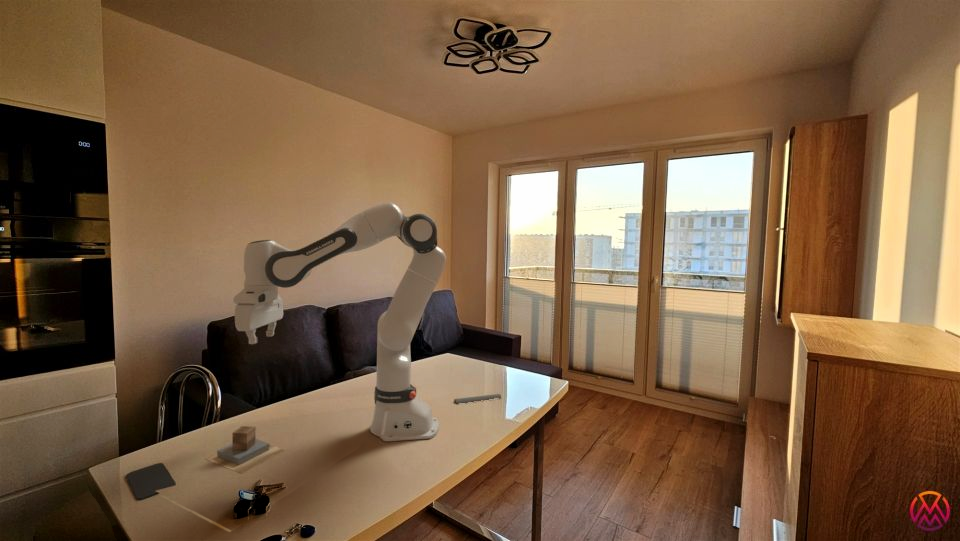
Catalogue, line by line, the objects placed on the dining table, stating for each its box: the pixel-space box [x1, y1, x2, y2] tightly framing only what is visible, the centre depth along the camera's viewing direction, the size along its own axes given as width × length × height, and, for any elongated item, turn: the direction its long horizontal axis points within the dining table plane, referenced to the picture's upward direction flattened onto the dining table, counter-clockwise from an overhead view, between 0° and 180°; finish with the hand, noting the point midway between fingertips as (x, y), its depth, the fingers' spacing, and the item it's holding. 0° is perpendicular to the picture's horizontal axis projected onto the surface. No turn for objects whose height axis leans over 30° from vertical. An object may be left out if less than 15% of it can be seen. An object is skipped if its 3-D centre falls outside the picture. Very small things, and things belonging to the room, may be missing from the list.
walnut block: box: [231, 425, 257, 451], centre depth 107 cm, size 4×4×5 cm
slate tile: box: [216, 438, 270, 465], centre depth 107 cm, size 2×9×9 cm
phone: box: [125, 462, 177, 501], centre depth 94 cm, size 7×1×15 cm
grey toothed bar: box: [453, 393, 502, 405], centre depth 153 cm, size 4×20×2 cm, turn 112°
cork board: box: [205, 444, 286, 475], centre depth 107 cm, size 15×13×1 cm
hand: (262, 339), depth 115 cm, fingers open, 8 cm apart
